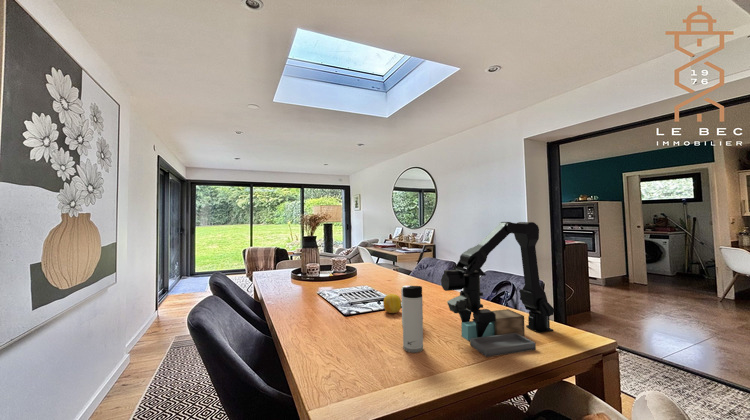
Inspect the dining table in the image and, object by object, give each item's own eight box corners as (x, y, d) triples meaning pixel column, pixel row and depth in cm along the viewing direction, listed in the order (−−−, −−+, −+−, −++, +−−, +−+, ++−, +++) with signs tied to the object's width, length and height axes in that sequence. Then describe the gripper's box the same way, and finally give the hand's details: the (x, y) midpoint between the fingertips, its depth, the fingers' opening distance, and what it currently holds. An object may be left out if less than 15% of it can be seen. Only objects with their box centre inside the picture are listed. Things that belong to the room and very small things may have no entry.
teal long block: (491, 333, 108) (491, 319, 108) (498, 337, 104) (498, 322, 104) (461, 336, 105) (461, 322, 105) (467, 341, 101) (467, 326, 101)
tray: (516, 339, 102) (516, 332, 102) (535, 349, 94) (535, 342, 94) (470, 345, 97) (470, 338, 97) (486, 357, 89) (486, 349, 89)
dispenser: (508, 328, 112) (508, 309, 112) (524, 336, 104) (524, 315, 105) (481, 331, 109) (481, 311, 109) (495, 339, 102) (495, 318, 102)
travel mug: (411, 355, 91) (410, 288, 91) (399, 347, 97) (398, 284, 97) (427, 350, 94) (426, 286, 94) (415, 343, 99) (414, 282, 100)
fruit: (381, 310, 135) (380, 292, 136) (398, 308, 137) (397, 291, 138) (386, 316, 127) (386, 297, 127) (404, 314, 129) (404, 296, 129)
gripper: (438, 284, 111) (438, 327, 111) (465, 297, 93) (466, 348, 93) (464, 282, 114) (465, 324, 114) (496, 294, 96) (497, 344, 96)
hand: (472, 334), depth 104 cm, fingers open, 8 cm apart
